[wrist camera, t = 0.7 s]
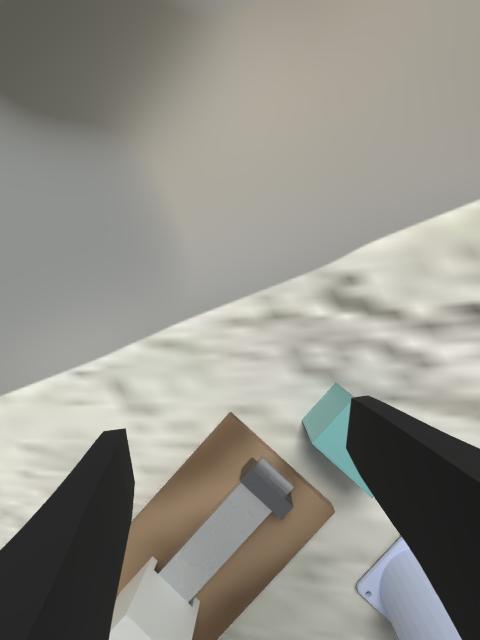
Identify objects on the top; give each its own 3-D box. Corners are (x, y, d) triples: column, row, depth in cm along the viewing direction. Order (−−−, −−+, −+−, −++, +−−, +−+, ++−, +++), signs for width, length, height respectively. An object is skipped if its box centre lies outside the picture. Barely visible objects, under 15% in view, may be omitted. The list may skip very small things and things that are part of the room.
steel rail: (297, 485, 27) (300, 499, 25) (137, 659, 28) (126, 688, 25) (258, 449, 27) (258, 461, 25) (100, 623, 28) (86, 649, 26)
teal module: (384, 425, 28) (415, 451, 22) (350, 463, 28) (372, 497, 22) (335, 382, 28) (354, 397, 22) (301, 419, 28) (312, 443, 23)
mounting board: (331, 503, 28) (335, 511, 27) (169, 679, 29) (165, 695, 27) (230, 411, 28) (229, 415, 27) (73, 586, 29) (66, 597, 28)
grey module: (200, 601, 27) (184, 671, 22) (166, 638, 27) (142, 717, 22) (152, 556, 28) (126, 614, 22) (119, 592, 28) (84, 659, 22)
